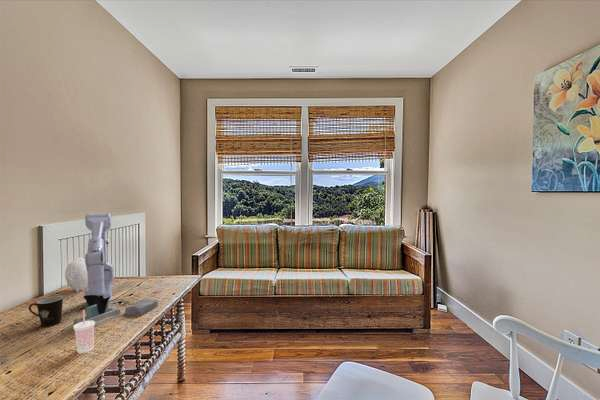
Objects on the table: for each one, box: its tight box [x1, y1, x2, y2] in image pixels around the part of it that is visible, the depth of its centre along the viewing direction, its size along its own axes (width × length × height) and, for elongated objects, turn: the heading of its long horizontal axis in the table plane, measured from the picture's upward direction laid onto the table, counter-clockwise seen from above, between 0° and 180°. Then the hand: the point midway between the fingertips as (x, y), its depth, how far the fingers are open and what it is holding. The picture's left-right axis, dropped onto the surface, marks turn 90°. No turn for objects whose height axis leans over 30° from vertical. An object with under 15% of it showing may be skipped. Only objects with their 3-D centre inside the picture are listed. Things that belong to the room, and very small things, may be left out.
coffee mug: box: [28, 295, 64, 328], centre depth 129 cm, size 12×9×10 cm
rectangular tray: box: [73, 305, 122, 326], centre depth 131 cm, size 7×15×3 cm, turn 152°
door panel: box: [85, 301, 110, 320], centre depth 130 cm, size 2×8×6 cm, turn 152°
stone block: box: [124, 298, 159, 317], centre depth 141 cm, size 12×5×10 cm
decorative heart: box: [64, 257, 88, 294], centre depth 169 cm, size 18×11×17 cm, turn 25°
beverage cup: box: [73, 309, 96, 354], centre depth 107 cm, size 6×6×14 cm
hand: (97, 312), depth 130 cm, fingers open, 5 cm apart
